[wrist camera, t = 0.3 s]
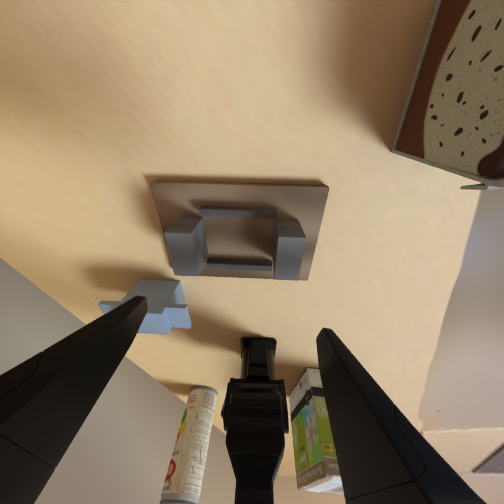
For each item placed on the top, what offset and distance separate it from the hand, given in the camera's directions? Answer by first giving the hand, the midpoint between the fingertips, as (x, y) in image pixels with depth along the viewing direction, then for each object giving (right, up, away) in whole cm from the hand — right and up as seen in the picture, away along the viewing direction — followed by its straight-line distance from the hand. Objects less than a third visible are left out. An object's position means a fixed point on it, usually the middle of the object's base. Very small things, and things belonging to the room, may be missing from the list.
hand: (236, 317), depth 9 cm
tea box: (+16, -27, +33) cm, 46 cm away
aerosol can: (-11, -32, +37) cm, 51 cm away
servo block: (-13, -2, +19) cm, 23 cm away
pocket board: (-1, +5, +13) cm, 14 cm away
